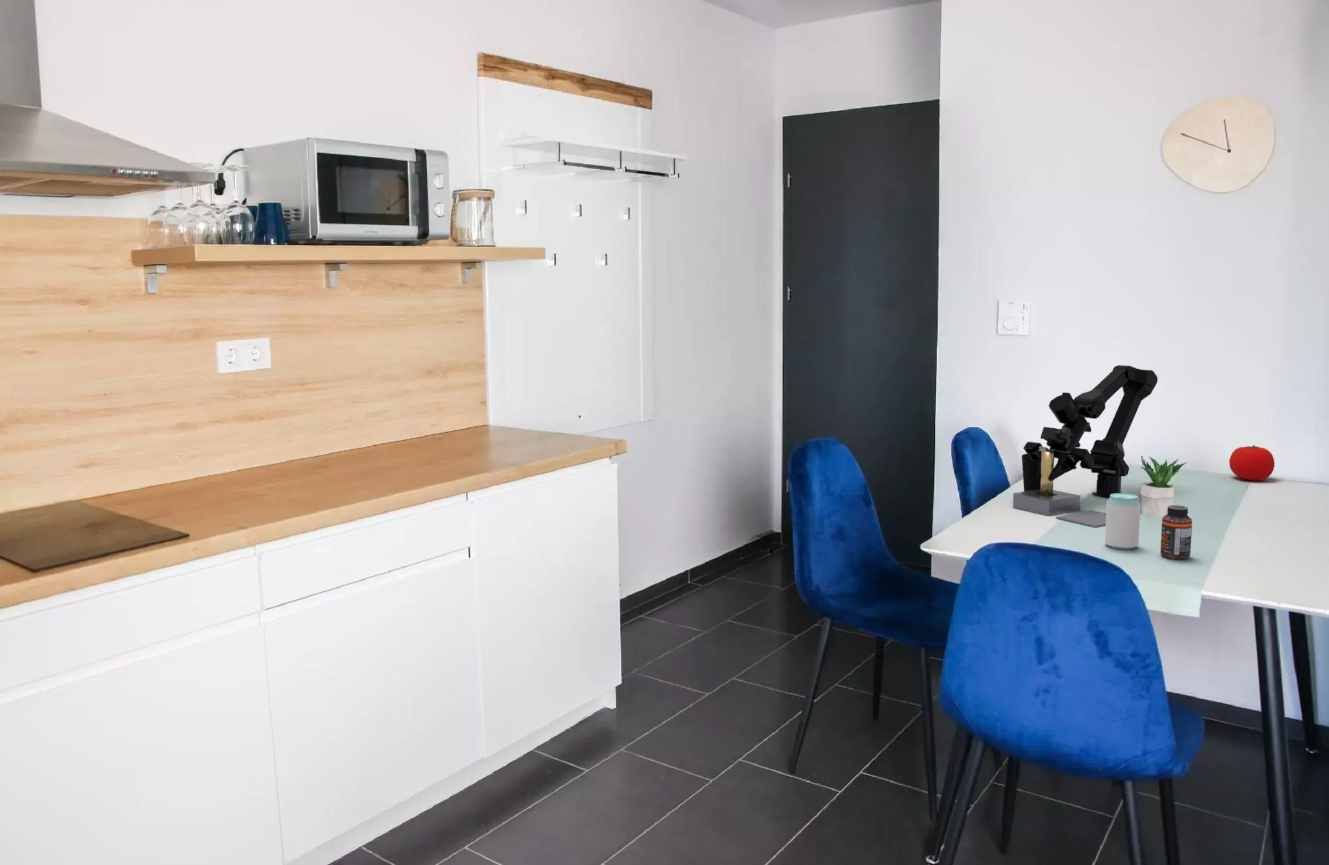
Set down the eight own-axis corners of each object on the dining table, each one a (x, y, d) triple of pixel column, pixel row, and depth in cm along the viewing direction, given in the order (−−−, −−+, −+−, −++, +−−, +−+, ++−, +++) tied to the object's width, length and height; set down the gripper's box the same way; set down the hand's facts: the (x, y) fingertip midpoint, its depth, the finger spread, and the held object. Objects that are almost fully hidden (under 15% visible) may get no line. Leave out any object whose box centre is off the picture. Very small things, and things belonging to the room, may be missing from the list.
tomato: (1282, 483, 296) (1284, 448, 294) (1242, 483, 296) (1244, 449, 294) (1258, 475, 307) (1260, 442, 306) (1220, 476, 308) (1222, 442, 306)
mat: (1091, 511, 265) (1091, 510, 265) (1131, 520, 254) (1132, 518, 254) (1055, 518, 258) (1055, 516, 258) (1095, 527, 248) (1095, 526, 248)
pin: (1049, 501, 271) (1051, 450, 269) (1054, 503, 268) (1056, 452, 266) (1038, 501, 271) (1039, 451, 269) (1043, 504, 268) (1044, 453, 266)
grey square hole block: (1043, 502, 278) (1044, 488, 277) (1079, 510, 267) (1080, 495, 266) (1013, 507, 272) (1013, 493, 271) (1048, 515, 261) (1049, 500, 261)
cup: (1051, 500, 280) (1052, 458, 278) (1022, 499, 282) (1023, 457, 280) (1046, 494, 287) (1047, 453, 286) (1018, 494, 289) (1019, 453, 287)
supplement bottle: (1154, 553, 223) (1156, 504, 222) (1179, 552, 224) (1182, 503, 222) (1170, 560, 217) (1172, 510, 216) (1196, 559, 218) (1198, 509, 216)
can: (1141, 550, 226) (1144, 499, 224) (1108, 549, 227) (1111, 498, 226) (1134, 543, 233) (1136, 492, 231) (1101, 542, 234) (1103, 492, 233)
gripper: (1028, 412, 276) (1001, 456, 271) (1089, 419, 260) (1062, 465, 256) (1045, 437, 281) (1019, 481, 277) (1106, 445, 266) (1079, 491, 261)
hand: (1044, 479), depth 268 cm, fingers closed on pin, 3 cm apart
